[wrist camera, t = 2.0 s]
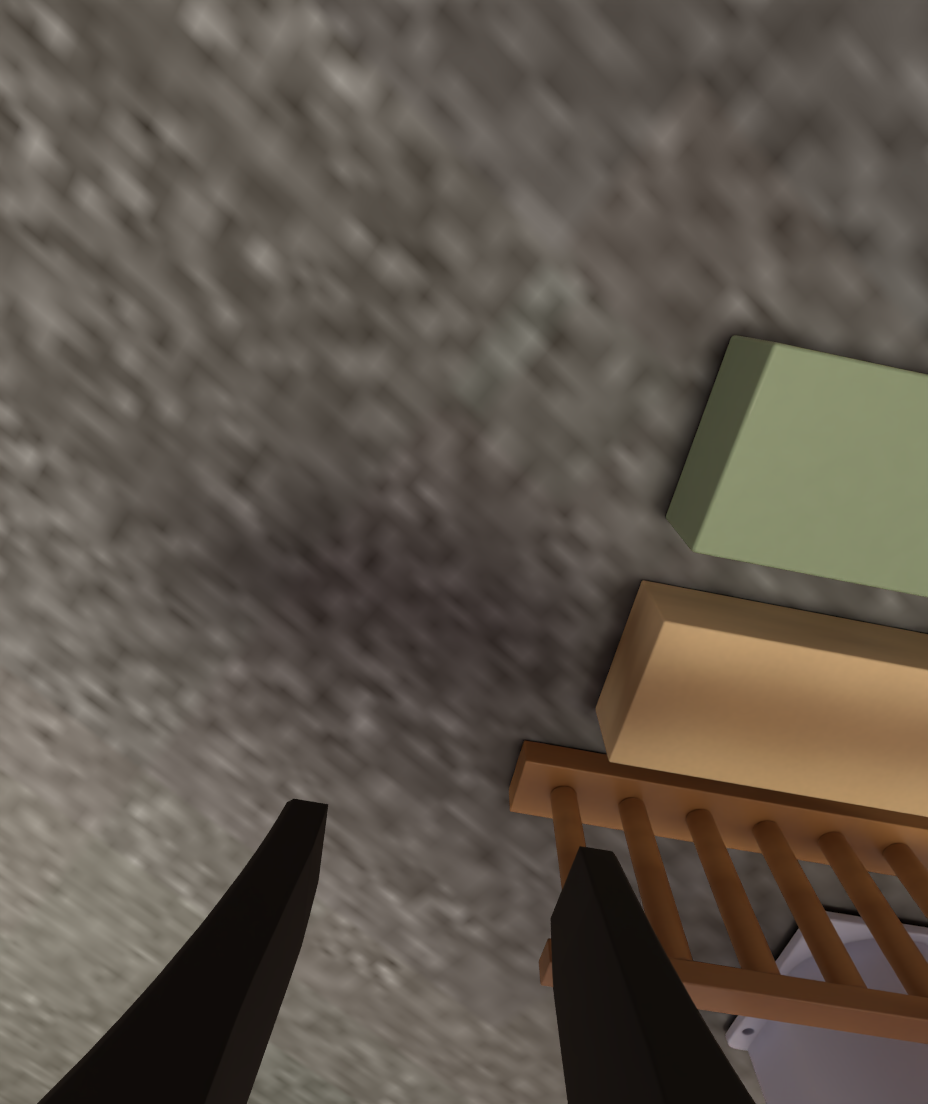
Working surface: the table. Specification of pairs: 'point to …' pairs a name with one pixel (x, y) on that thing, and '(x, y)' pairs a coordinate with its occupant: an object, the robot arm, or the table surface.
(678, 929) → the plate rack
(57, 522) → the table surface
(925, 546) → the sage board
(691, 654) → the beech board
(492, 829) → the table surface
